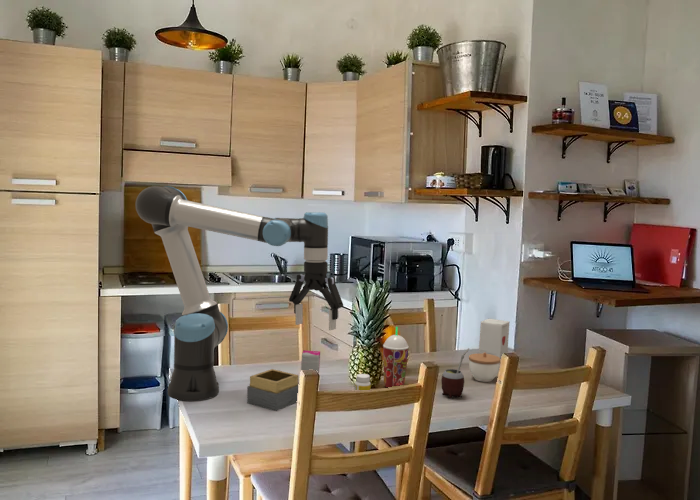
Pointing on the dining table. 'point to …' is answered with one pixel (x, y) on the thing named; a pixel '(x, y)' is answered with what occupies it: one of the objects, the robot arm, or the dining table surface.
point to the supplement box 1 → (310, 360)
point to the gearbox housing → (273, 389)
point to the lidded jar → (484, 366)
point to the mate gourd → (453, 381)
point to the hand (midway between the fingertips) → (315, 326)
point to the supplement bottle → (362, 382)
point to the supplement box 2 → (494, 337)
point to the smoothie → (395, 360)
